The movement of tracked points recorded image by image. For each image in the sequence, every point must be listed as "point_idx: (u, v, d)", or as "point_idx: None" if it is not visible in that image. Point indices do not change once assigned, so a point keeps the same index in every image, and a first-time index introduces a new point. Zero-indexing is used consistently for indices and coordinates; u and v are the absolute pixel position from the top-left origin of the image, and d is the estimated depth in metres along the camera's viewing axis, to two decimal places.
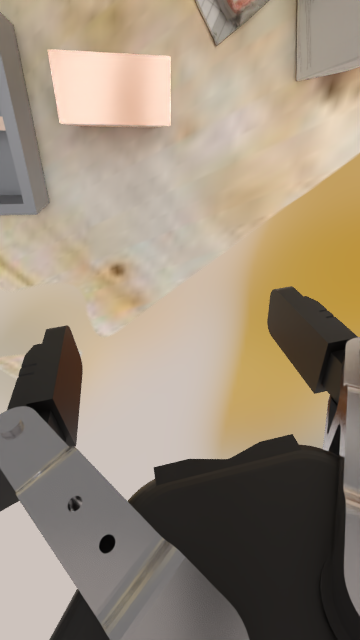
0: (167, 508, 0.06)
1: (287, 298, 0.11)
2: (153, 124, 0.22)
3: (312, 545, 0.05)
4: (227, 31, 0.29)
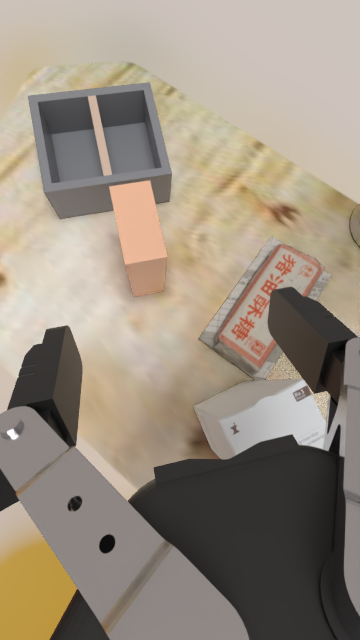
0: (167, 508, 0.06)
1: (287, 298, 0.11)
2: (122, 251, 0.28)
3: (312, 545, 0.05)
4: (208, 342, 0.38)
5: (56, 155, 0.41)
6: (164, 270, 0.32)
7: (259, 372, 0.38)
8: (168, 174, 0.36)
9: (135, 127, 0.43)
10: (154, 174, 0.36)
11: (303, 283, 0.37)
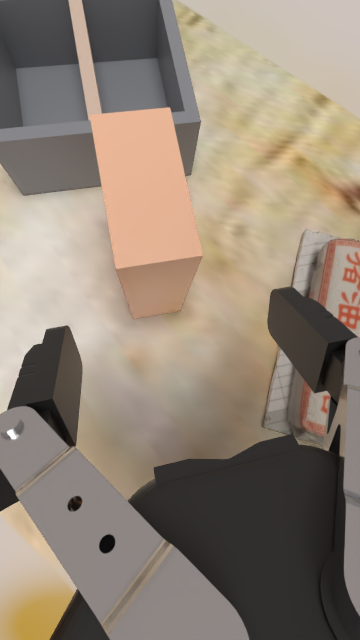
0: (167, 508, 0.06)
1: (287, 298, 0.11)
2: (112, 241, 0.14)
3: (312, 545, 0.05)
4: (281, 428, 0.24)
5: (21, 99, 0.27)
6: (189, 280, 0.17)
7: None
8: (195, 123, 0.22)
9: (142, 64, 0.29)
10: None
11: None
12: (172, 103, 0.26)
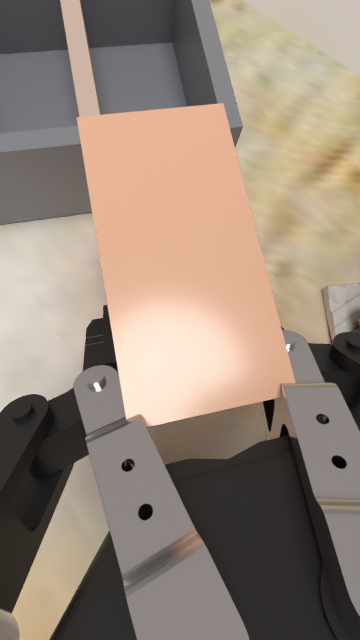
0: None
1: None
2: (121, 371, 0.07)
3: (303, 568, 0.05)
4: None
5: None
6: None
7: None
8: (234, 128, 0.15)
9: (154, 50, 0.22)
10: None
11: None
12: (196, 101, 0.19)
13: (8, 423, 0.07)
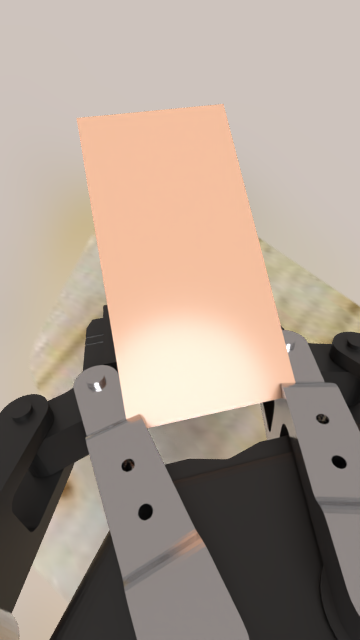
0: None
1: None
2: (121, 372, 0.07)
3: (303, 568, 0.05)
4: None
5: None
6: None
7: None
8: None
9: None
10: None
11: None
12: None
13: (8, 423, 0.07)
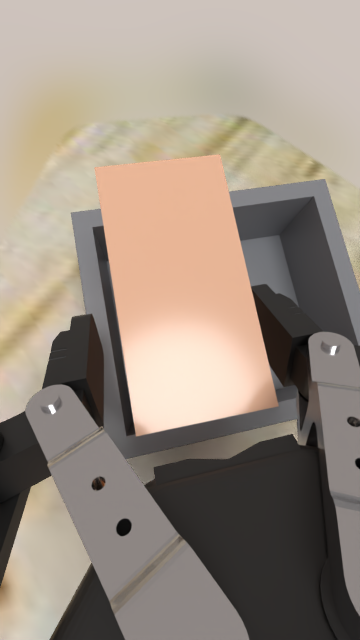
0: (167, 508, 0.06)
1: (259, 295, 0.11)
2: (130, 386, 0.08)
3: (307, 554, 0.05)
4: None
5: None
6: None
7: None
8: None
9: (263, 245, 0.22)
10: None
11: None
12: (319, 322, 0.20)
13: None
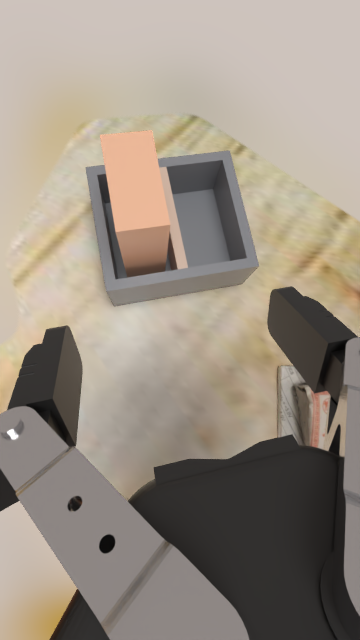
0: (167, 508, 0.06)
1: (287, 298, 0.11)
2: (113, 215, 0.22)
3: (312, 545, 0.05)
4: None
5: (111, 229, 0.34)
6: (165, 246, 0.26)
7: None
8: (254, 266, 0.30)
9: (202, 195, 0.36)
10: (238, 267, 0.29)
11: None
12: (230, 236, 0.33)
13: None
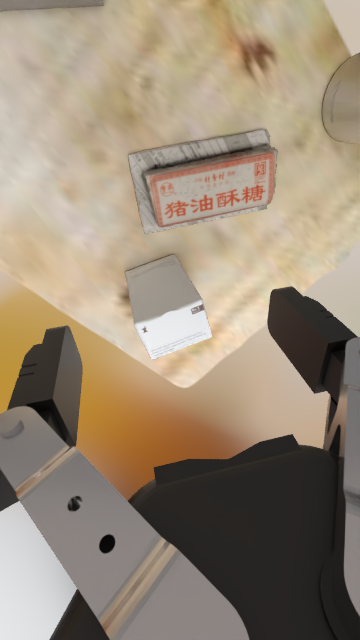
0: (167, 508, 0.06)
1: (287, 298, 0.11)
2: None
3: (312, 545, 0.05)
4: None
5: None
6: None
7: (262, 140, 0.38)
8: None
9: None
10: None
11: (180, 182, 0.35)
12: None
13: None
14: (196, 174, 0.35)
